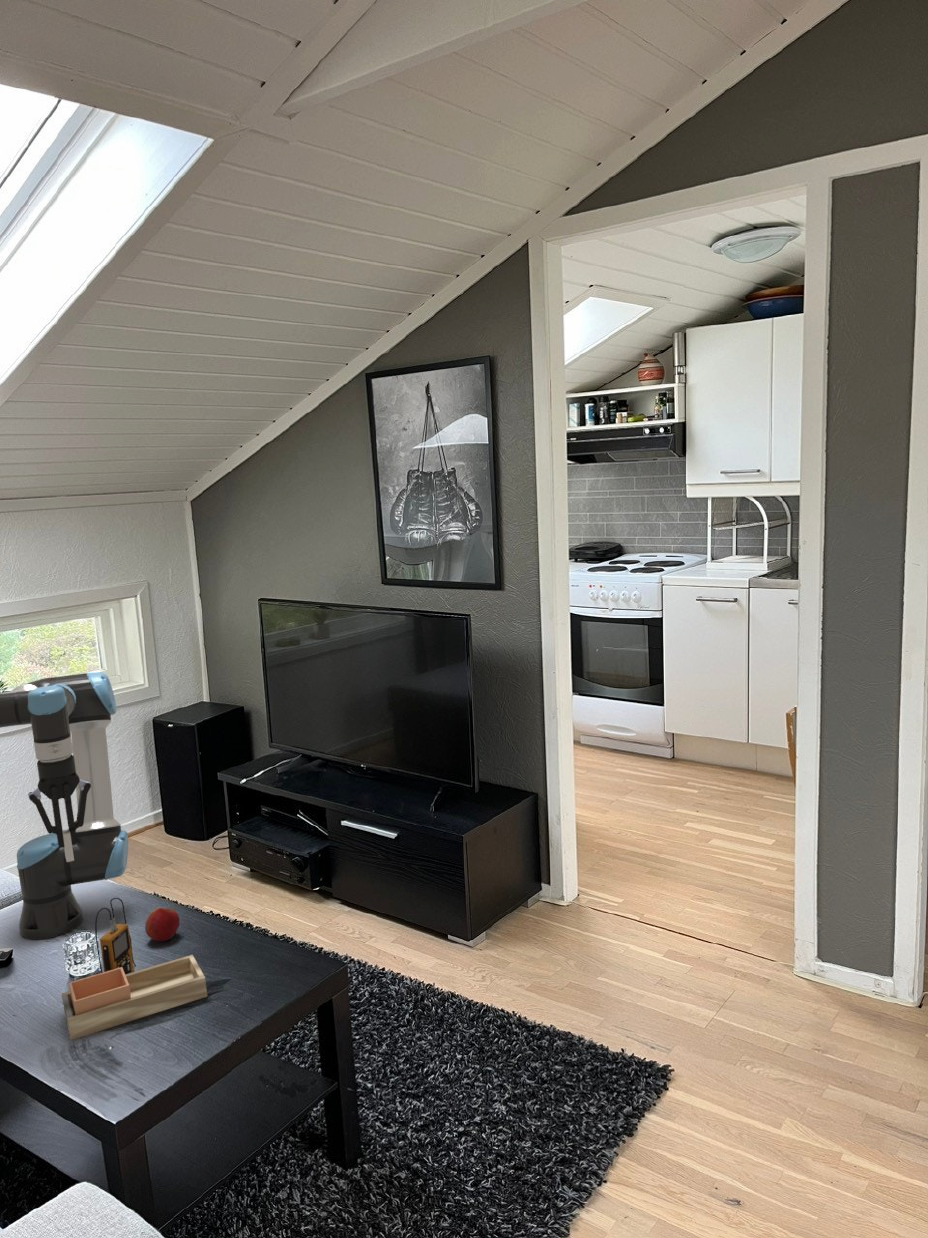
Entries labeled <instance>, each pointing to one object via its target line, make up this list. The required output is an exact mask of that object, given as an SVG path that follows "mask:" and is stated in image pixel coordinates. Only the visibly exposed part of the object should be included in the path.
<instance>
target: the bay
mask: <svg viewBox="0 0 928 1238" xmlns="http://www.w3.org/2000/svg"><path fill="white" fill-rule="evenodd" d="M126 978H127V981H128V983H129V987H130V994H131V998H130V999H126V1000H123V1001H120V1002H117V1003H113V1004H110V1005H107V1006H104V1007H101V1008H97V1009H94V1010H91V1011H88V1012H84V1013H81V1014H78V1015H75V1016H74V1012H73V1008H72V1001H71V994H70V990H69V991H65V992H63V993H61V999H62V1005H63V1013H64V1016H65V1021H66V1025H67V1029H68V1033H69V1037H70V1038H69V1039H70V1041H72V1040H75V1039H79V1038H82V1037H85V1036H88V1035H92V1034H94V1033H98V1032H101V1031H103V1030H107V1029H110V1028H113V1027H116V1026H120V1025H122V1024H126V1023H128V1022H129V1023H130V1022H132V1021H136V1020H139V1019H142V1018H145V1017H148V1016H150V1015H151V1016H152V1015H154V1014H156V1013H161V1012H164V1011H166V1010H170V1009H172V1008H176V1007H179V1006H182V1005H185V1004H188V1003H192V1002H194V1001H197V1000H198V1001H199V1000H201V999H203V998H207V997H208V991H207V990H208V989H207V982H206V976H205V974H204V972H203V971H202V969H201V967H200V965H199V964H198V962H197V960H196V958H195V957H194V955H193V954H190V955H186V956H183V957H180V958H176V959H174V960H170V961H166V962H163V963H159V964H156V965H153V966H149V967H146V968H143V969H139V970H136V971H134V972H132V973H129V974H126Z"/></svg>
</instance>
